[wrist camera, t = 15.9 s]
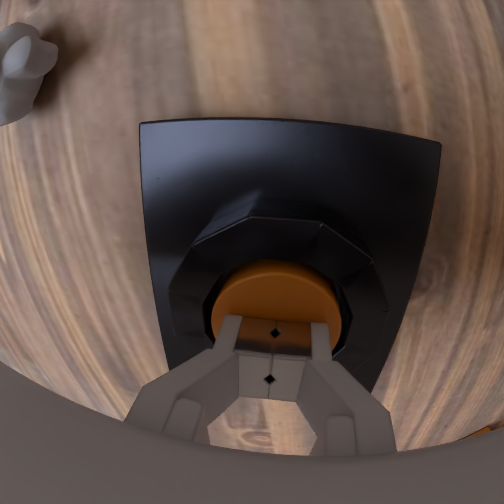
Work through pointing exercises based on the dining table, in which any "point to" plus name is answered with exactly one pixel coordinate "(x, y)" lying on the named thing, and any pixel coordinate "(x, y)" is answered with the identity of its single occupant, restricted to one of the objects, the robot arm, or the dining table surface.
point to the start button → (279, 295)
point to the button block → (286, 221)
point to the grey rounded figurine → (22, 69)
